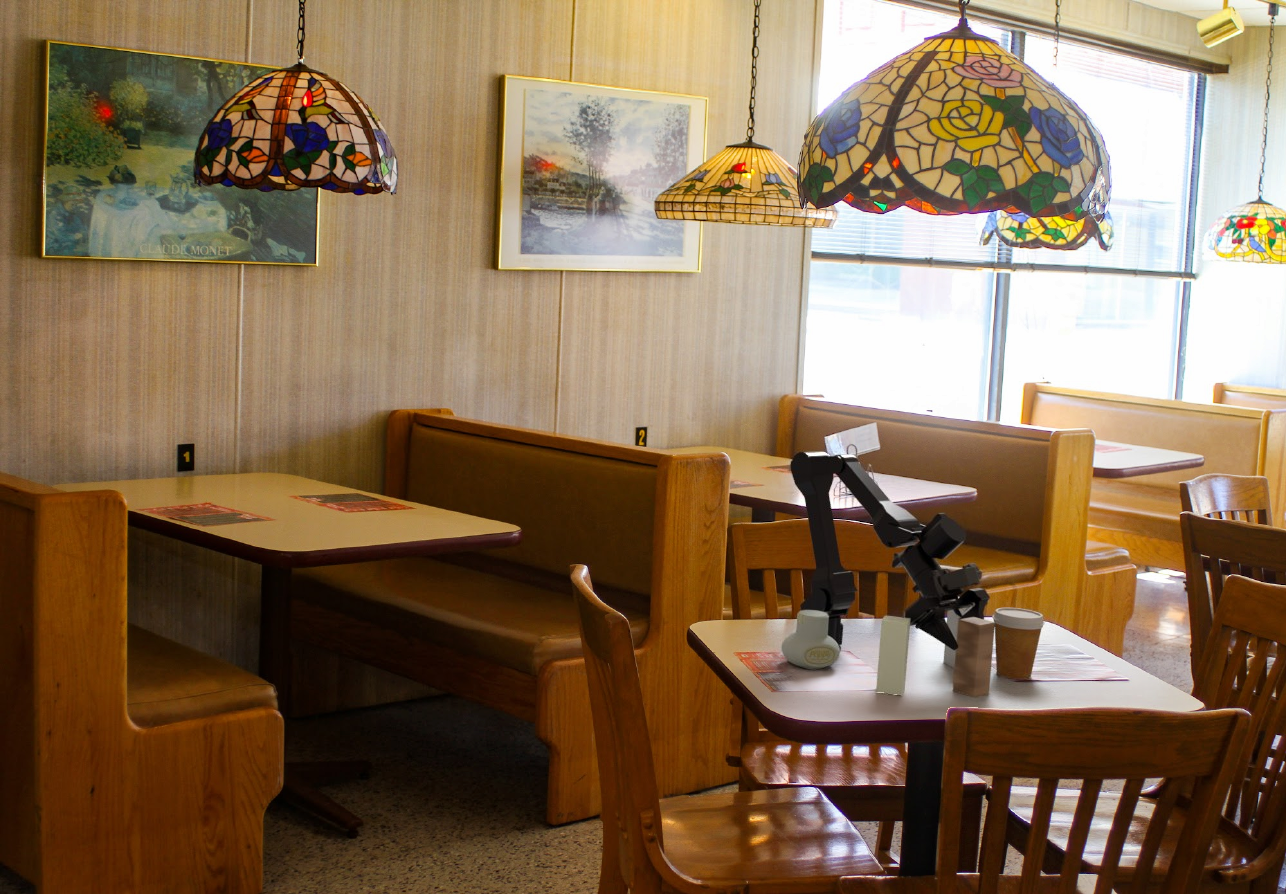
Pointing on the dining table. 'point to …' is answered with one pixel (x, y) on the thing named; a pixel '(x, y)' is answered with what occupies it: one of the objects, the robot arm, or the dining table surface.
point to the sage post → (893, 655)
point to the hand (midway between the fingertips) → (972, 646)
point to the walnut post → (973, 656)
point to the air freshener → (811, 642)
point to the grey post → (953, 625)
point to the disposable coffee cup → (1016, 641)
